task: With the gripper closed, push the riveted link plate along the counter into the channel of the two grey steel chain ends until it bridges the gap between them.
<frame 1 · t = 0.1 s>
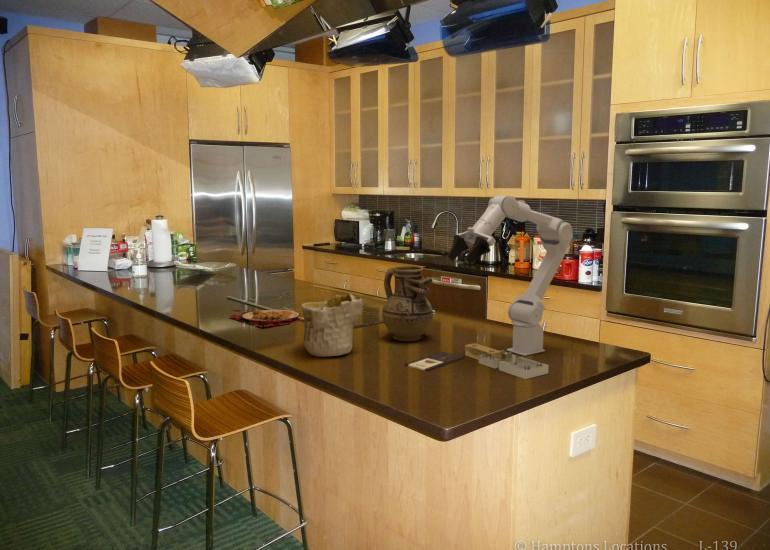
hand: (458, 259, 180), 32 cm above the countertop, tool tilted 50°, fingers open, 7 cm apart
ceramic vessel: (326, 351, 203), on the countertop
plate with food: (272, 320, 252), on the countertop
decorative pitcher: (407, 338, 219), on the countertop
chain end 2: (518, 370, 181), on the countertop
chocolate bar: (435, 363, 190), on the countertop
riveted link plate: (482, 359, 193), on the countertop
chain end 1: (497, 363, 188), on the countertop
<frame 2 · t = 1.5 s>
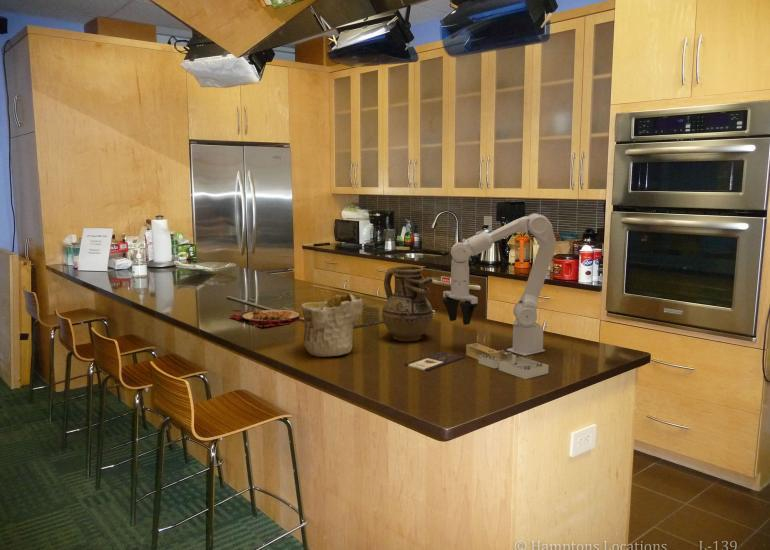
hand: (459, 322, 201), 9 cm above the countertop, tool pointing down, fingers open, 6 cm apart
nothing on the countertop moved.
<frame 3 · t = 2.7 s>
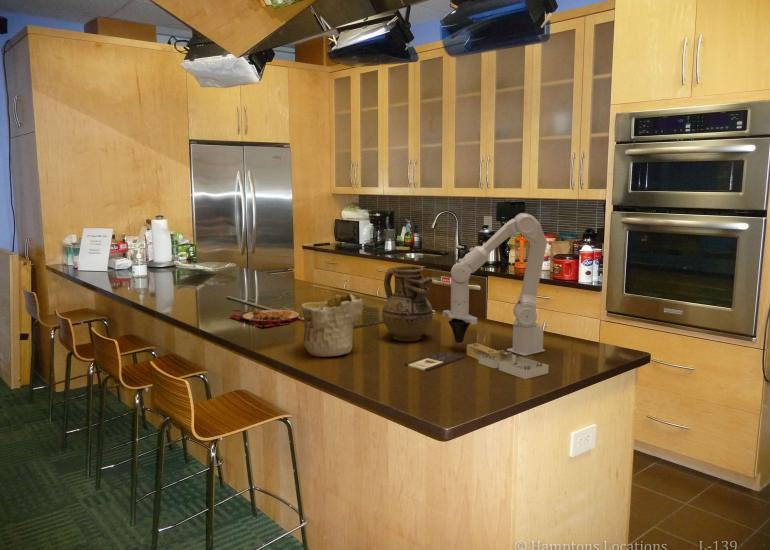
hand: (459, 342, 202), 3 cm above the countertop, tool pointing down, fingers closed
nothing on the countertop moved.
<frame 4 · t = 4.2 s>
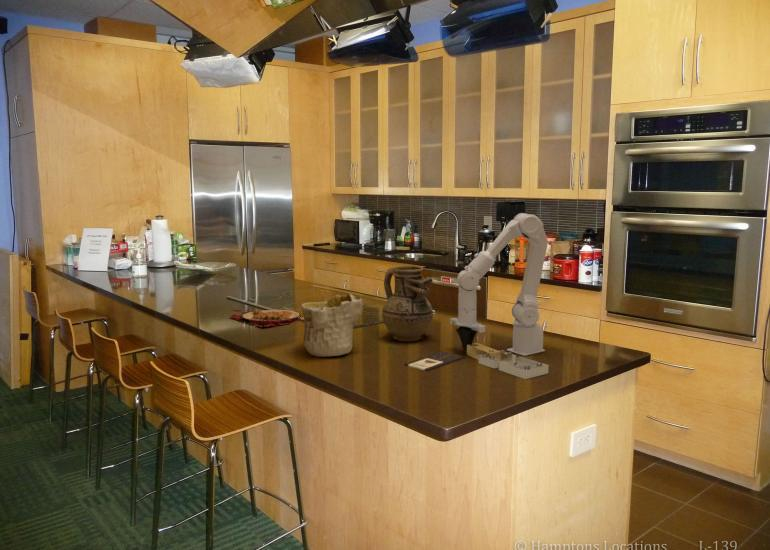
hand: (466, 350, 199), 1 cm above the countertop, tool pointing down, fingers closed
riveted link plate: (483, 359, 193), on the countertop, touching gripper
everything else where it was.
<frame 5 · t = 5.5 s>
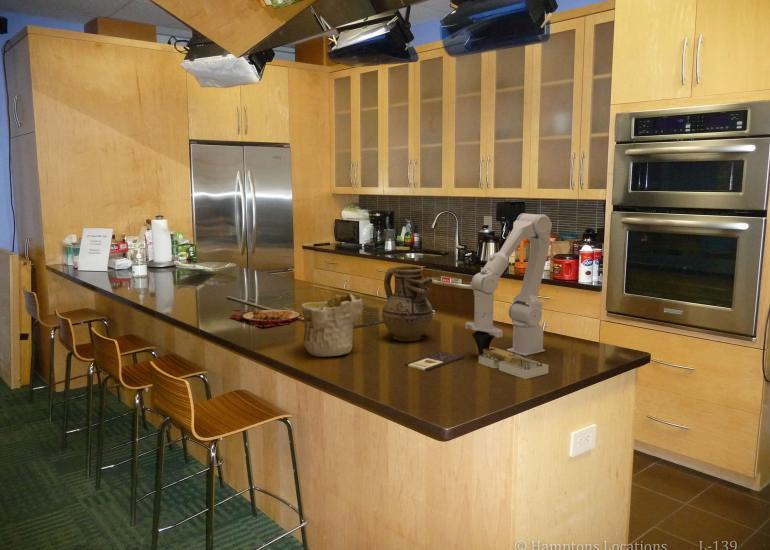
hand: (483, 355, 193), 1 cm above the countertop, tool pointing down, fingers closed
riveted link plate: (501, 363, 187), on the countertop, touching gripper
everything else where it was.
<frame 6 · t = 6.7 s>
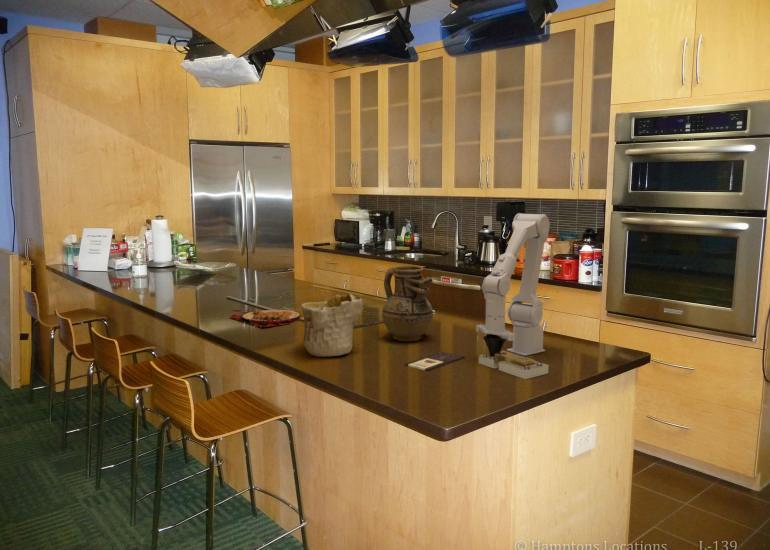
hand: (494, 359, 189), 1 cm above the countertop, tool pointing down, fingers closed
riveted link plate: (514, 368, 183), on the countertop, touching gripper
everything else where it was.
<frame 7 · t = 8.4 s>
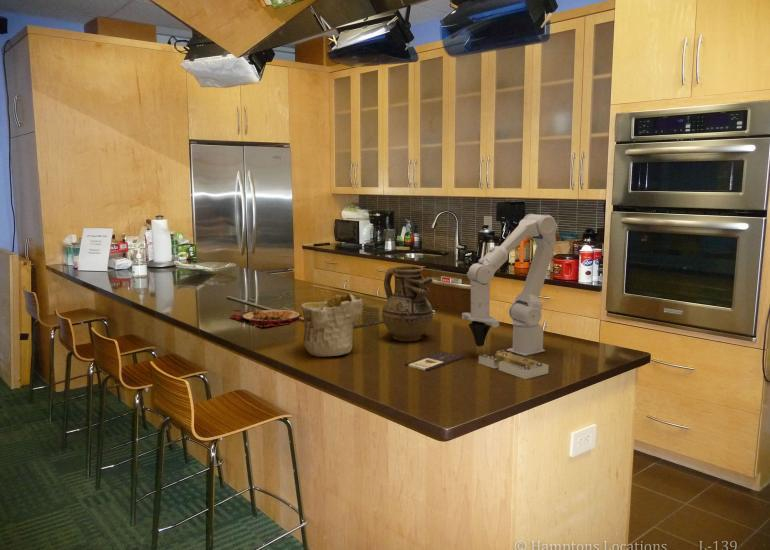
hand: (479, 345, 194), 4 cm above the countertop, tool pointing down, fingers closed
riveted link plate: (514, 369, 183), on the countertop
everything else where it was.
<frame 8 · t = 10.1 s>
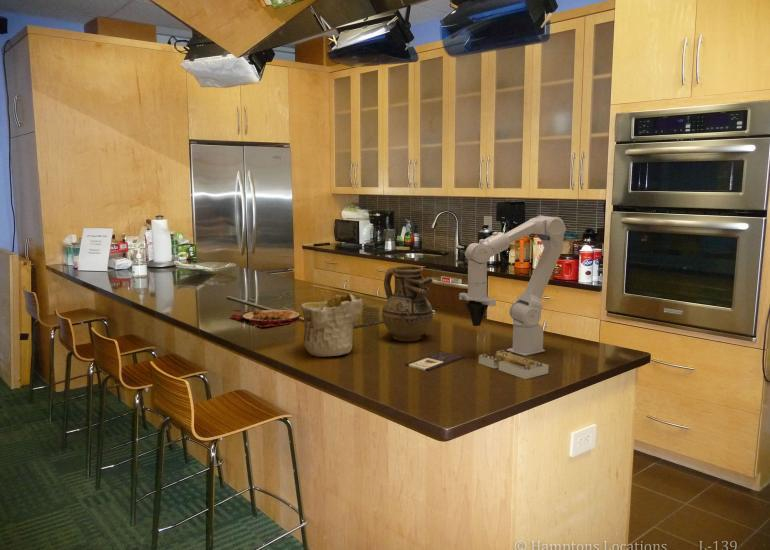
hand: (476, 325, 194), 10 cm above the countertop, tool pointing down, fingers closed
nothing on the countertop moved.
at the end: riveted link plate 0.8 cm from the target spot, on the countertop; riveted link plate tilted 0° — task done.
